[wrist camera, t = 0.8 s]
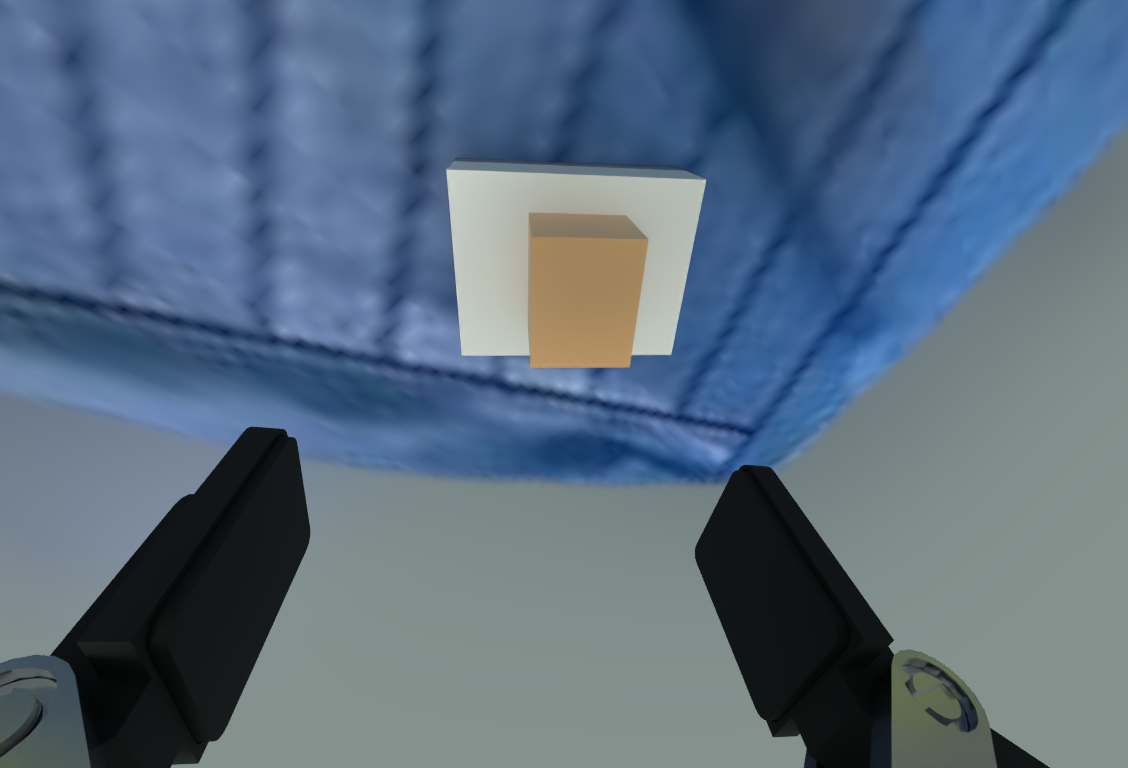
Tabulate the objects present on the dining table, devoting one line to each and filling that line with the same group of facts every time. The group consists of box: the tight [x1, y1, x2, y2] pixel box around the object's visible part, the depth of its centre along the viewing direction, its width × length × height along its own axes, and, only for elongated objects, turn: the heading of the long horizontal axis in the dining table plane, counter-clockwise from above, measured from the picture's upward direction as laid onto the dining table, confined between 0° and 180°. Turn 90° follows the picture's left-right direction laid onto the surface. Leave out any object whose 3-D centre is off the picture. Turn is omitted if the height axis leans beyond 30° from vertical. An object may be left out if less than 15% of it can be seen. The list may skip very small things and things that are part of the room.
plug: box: [528, 212, 649, 368], centre depth 26 cm, size 6×7×8 cm
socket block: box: [446, 158, 706, 356], centre depth 29 cm, size 14×11×5 cm
